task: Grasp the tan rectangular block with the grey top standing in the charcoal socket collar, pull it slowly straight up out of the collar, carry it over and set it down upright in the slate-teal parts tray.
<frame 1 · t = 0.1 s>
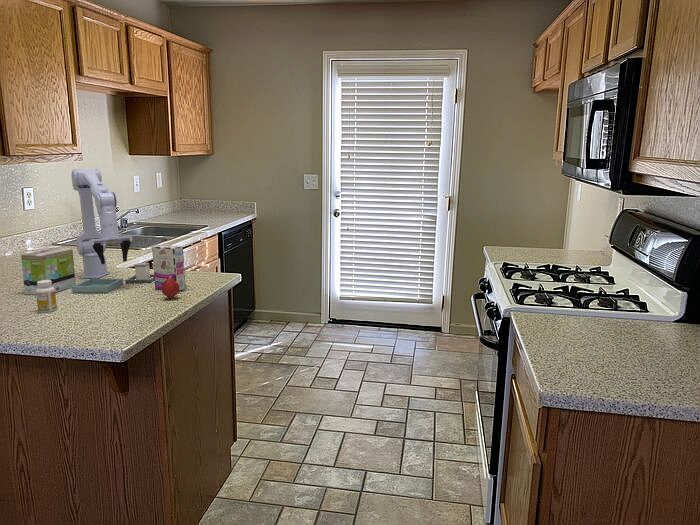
hand: (114, 262, 199), 11 cm above the worktop, tool pointing down, fingers open, 7 cm apart
tea box: (51, 290, 203), on the worktop
onion: (171, 299, 189), on the worktop
parts tray: (98, 289, 204), on the worktop
candy bar box: (170, 290, 202), on the worktop
socket collar: (143, 280, 217), on the worktop
tan rectangular block: (143, 281, 217), resting in socket collar
supplement bottle: (47, 311, 176), on the worktop
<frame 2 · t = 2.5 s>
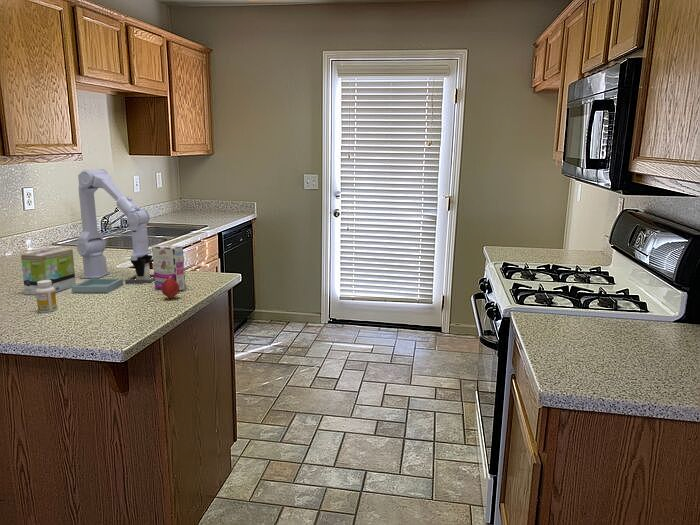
hand: (143, 275, 216), 2 cm above the worktop, tool pointing down, fingers closed on tan rectangular block, 4 cm apart
tan rectangular block: (143, 280, 217), resting in socket collar, touching gripper
everything else where it was.
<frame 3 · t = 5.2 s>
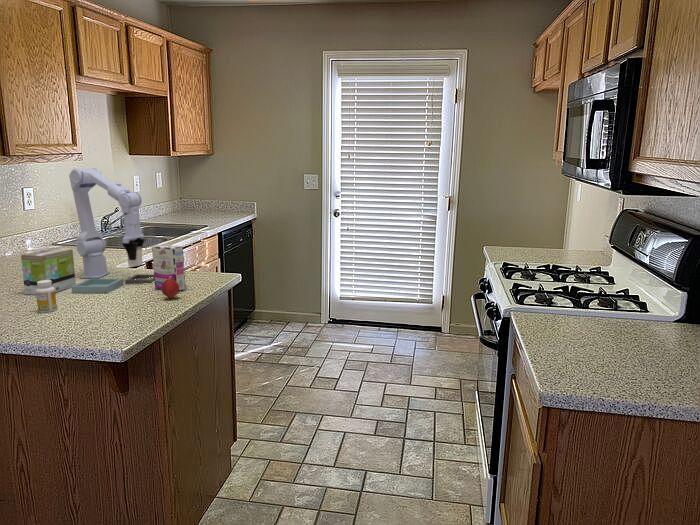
hand: (135, 258, 213), 9 cm above the worktop, tool pointing down, fingers closed on tan rectangular block, 4 cm apart
tan rectangular block: (135, 264, 213), point 7 cm above the worktop, touching gripper
everything else where it was.
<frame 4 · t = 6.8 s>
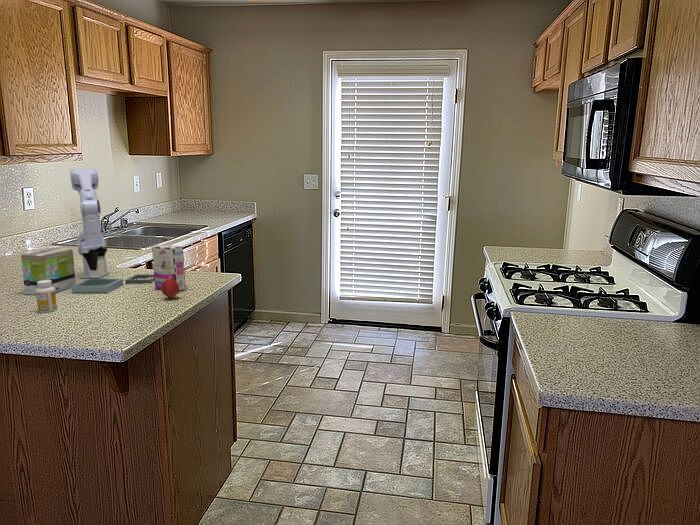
hand: (96, 268, 202), 8 cm above the worktop, tool pointing down, fingers closed on tan rectangular block, 4 cm apart
tan rectangular block: (97, 275, 203), point 5 cm above the worktop, touching gripper
everything else where it was.
when the fingers open (4 cm above the worktop, at t = 8.3 s): tan rectangular block drops 1 cm, resting on parts tray.
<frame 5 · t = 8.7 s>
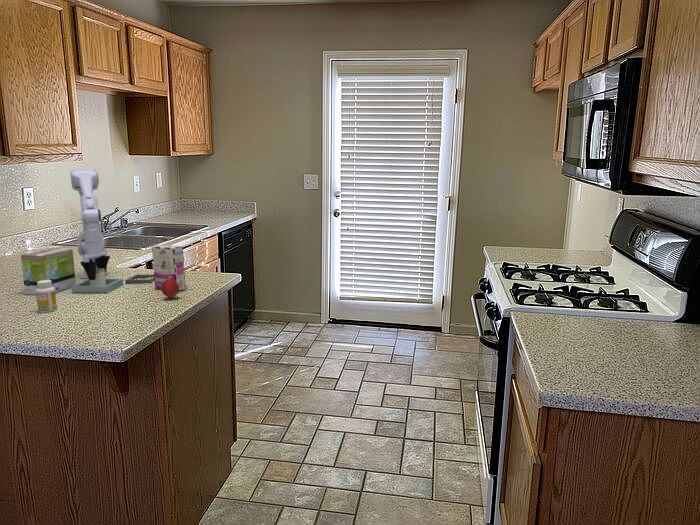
hand: (97, 277, 203), 4 cm above the worktop, tool pointing down, fingers open, 7 cm apart
tan rectangular block: (98, 287, 204), resting on parts tray
everything else where it was.
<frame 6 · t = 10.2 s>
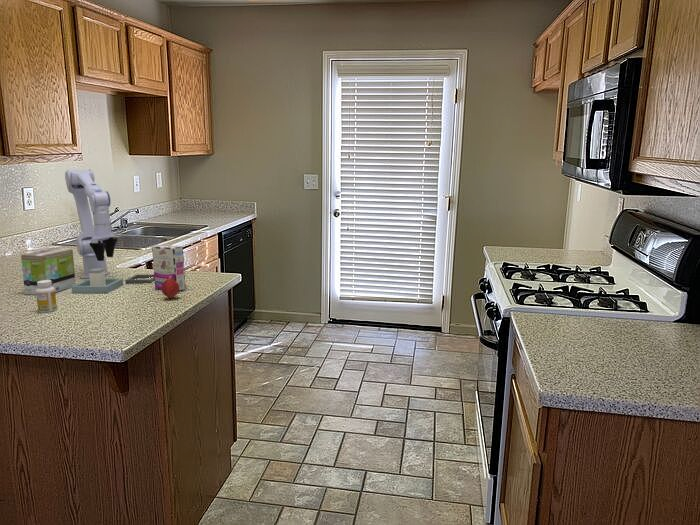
hand: (105, 258, 210), 10 cm above the worktop, tool pointing down, fingers open, 7 cm apart
nothing on the worktop moved.
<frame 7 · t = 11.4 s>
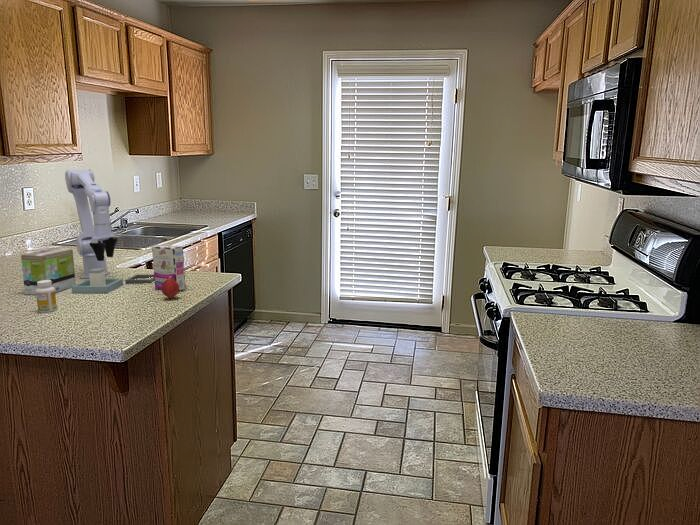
hand: (105, 258, 210), 10 cm above the worktop, tool pointing down, fingers open, 7 cm apart
nothing on the worktop moved.
at the end: tan rectangular block inside the target area on the parts tray (0.0 cm from its centre), point 0.5 cm above the parts tray's base; tan rectangular block tilted 0°; the gripper is holding nothing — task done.
